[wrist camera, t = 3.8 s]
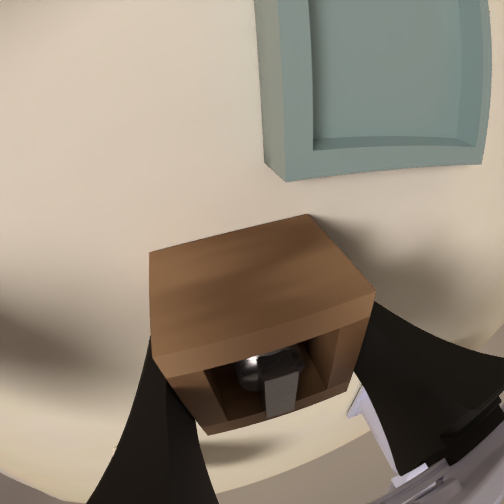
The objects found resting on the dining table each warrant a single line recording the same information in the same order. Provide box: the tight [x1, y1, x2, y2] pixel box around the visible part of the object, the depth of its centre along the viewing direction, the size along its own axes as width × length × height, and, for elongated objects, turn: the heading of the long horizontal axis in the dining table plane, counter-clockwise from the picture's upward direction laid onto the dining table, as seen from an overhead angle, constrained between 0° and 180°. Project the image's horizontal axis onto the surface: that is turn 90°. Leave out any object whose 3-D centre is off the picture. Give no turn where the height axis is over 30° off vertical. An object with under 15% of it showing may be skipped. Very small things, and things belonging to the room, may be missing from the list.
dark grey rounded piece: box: [233, 343, 305, 418], centre depth 10 cm, size 2×3×5 cm
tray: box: [254, 0, 492, 182], centre depth 6 cm, size 10×10×2 cm
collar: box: [149, 214, 376, 435], centre depth 10 cm, size 6×6×4 cm
